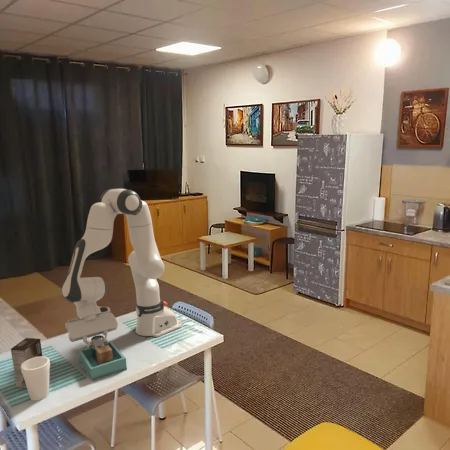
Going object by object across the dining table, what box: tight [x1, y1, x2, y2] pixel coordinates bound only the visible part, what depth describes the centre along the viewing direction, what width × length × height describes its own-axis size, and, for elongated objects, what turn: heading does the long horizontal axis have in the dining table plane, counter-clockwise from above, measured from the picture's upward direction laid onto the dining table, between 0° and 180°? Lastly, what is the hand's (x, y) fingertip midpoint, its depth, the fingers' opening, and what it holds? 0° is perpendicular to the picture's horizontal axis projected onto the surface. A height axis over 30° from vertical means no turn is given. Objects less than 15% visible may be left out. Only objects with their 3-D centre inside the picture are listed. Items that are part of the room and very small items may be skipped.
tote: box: [77, 340, 128, 381], centre depth 172 cm, size 14×18×5 cm
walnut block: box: [96, 345, 113, 365], centre depth 168 cm, size 5×5×8 cm
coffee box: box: [10, 337, 43, 389], centre depth 161 cm, size 9×6×16 cm
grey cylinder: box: [90, 334, 105, 359], centre depth 174 cm, size 5×5×8 cm
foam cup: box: [21, 355, 51, 402], centre depth 152 cm, size 10×9×13 cm
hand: (97, 344), depth 175 cm, fingers closed on grey cylinder, 5 cm apart
